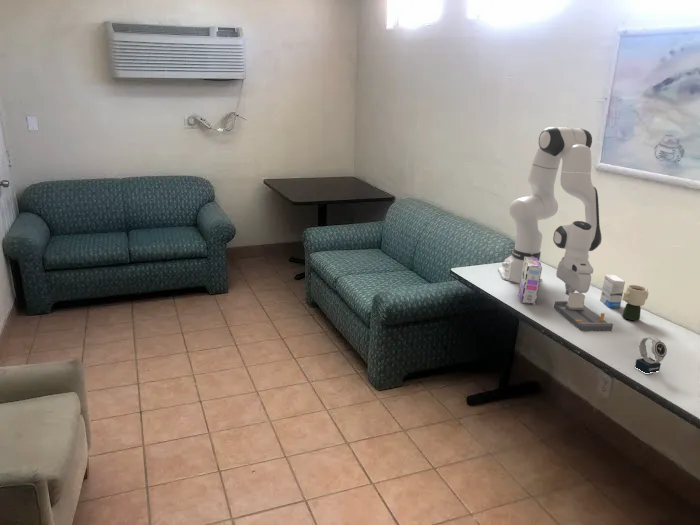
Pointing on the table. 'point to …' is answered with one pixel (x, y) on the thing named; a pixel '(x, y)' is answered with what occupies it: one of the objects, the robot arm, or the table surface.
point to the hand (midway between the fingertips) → (568, 295)
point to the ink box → (612, 291)
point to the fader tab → (575, 301)
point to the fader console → (583, 318)
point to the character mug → (634, 301)
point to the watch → (646, 362)
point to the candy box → (530, 280)
